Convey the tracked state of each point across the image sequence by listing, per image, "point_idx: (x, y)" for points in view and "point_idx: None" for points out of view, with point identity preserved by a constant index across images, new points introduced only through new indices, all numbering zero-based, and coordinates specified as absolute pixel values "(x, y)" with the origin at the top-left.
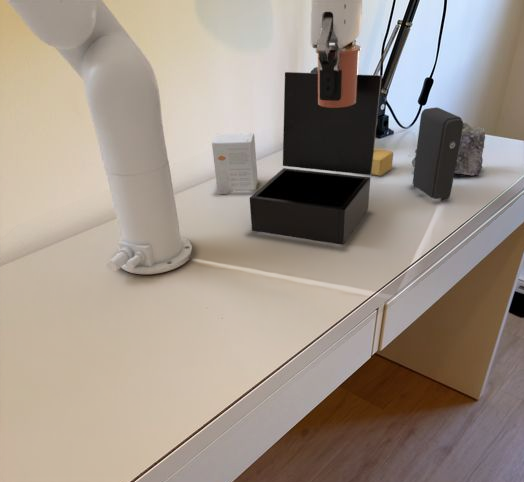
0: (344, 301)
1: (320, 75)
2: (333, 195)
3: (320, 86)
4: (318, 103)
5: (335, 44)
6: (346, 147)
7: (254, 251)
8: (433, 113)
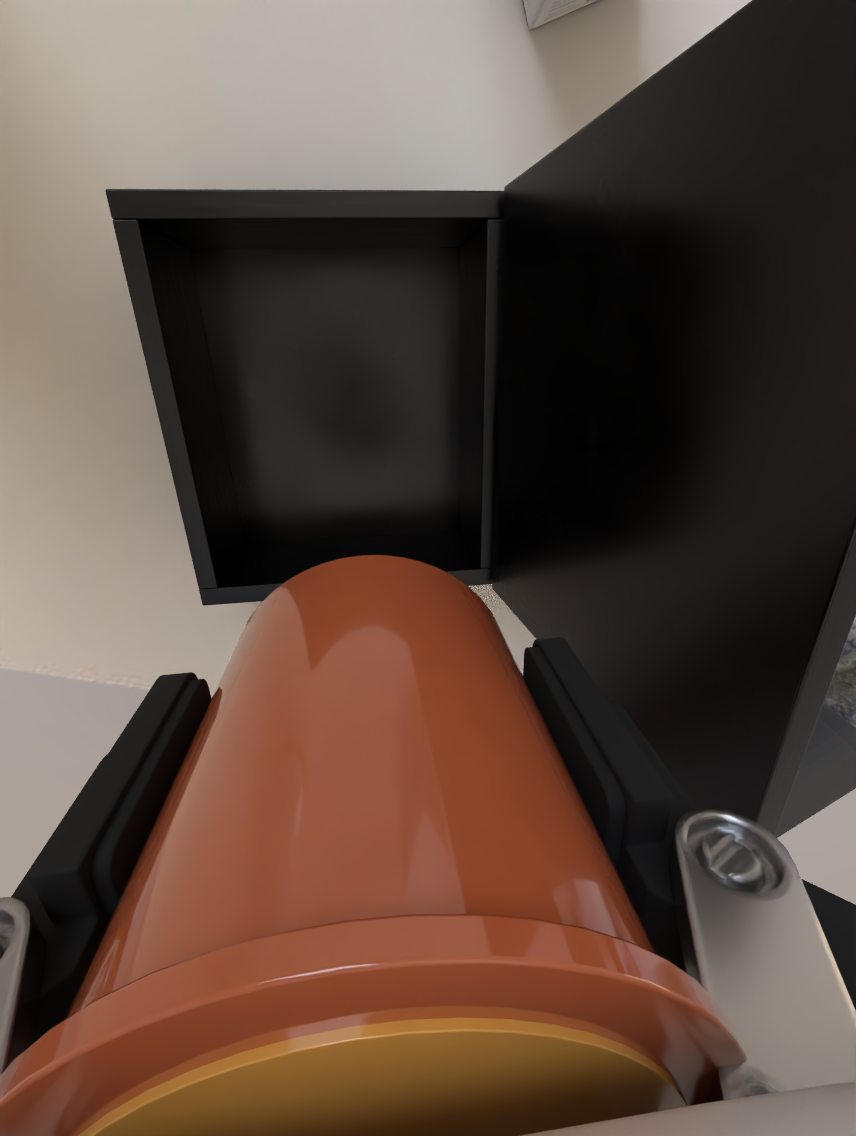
0: (8, 642)
1: (60, 836)
2: (467, 445)
3: (122, 744)
4: (278, 590)
5: (716, 1077)
6: (533, 527)
7: (74, 303)
8: (796, 784)
